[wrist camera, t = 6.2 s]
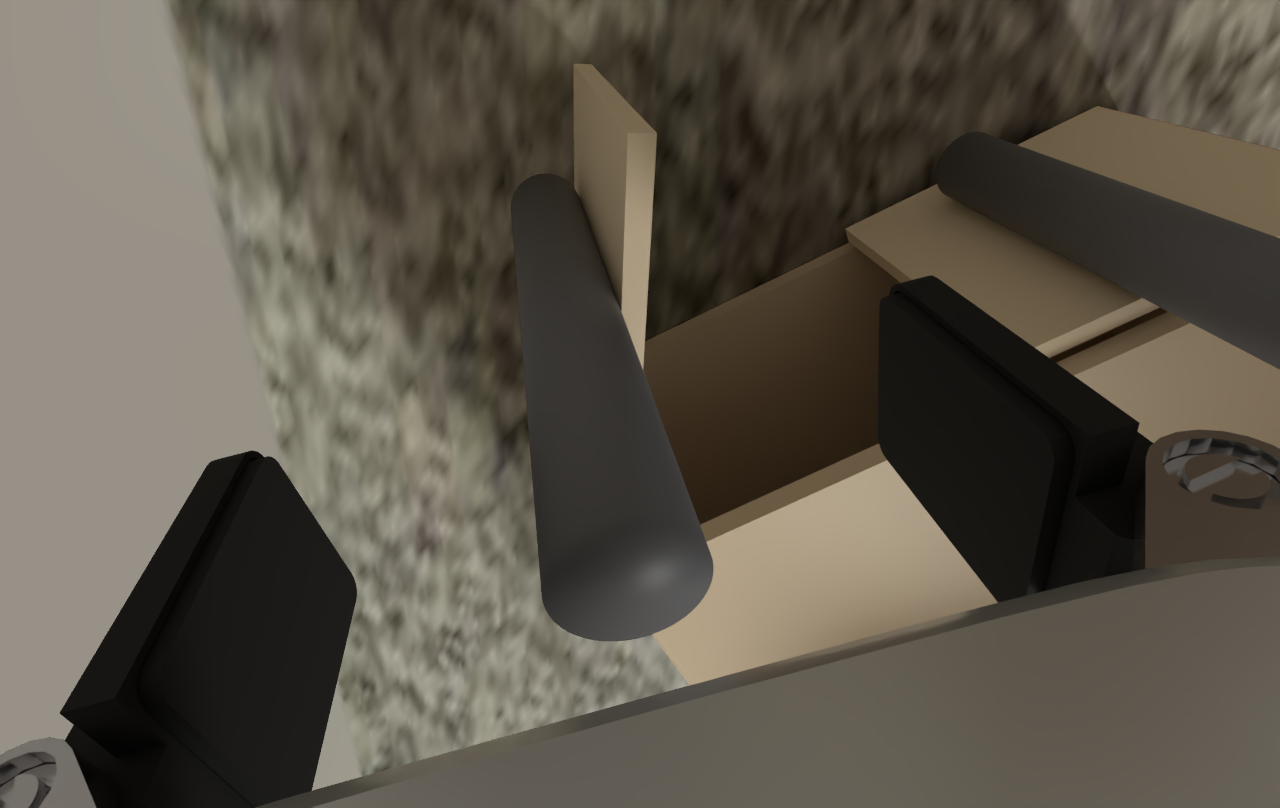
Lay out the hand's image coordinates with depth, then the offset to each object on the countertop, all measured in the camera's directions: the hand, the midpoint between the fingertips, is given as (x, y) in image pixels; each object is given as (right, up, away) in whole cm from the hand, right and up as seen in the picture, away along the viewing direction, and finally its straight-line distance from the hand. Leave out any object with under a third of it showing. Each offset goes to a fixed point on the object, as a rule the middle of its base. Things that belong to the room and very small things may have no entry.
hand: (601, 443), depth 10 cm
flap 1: (+11, +9, +12) cm, 19 cm away
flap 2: (-2, +6, +11) cm, 12 cm away
